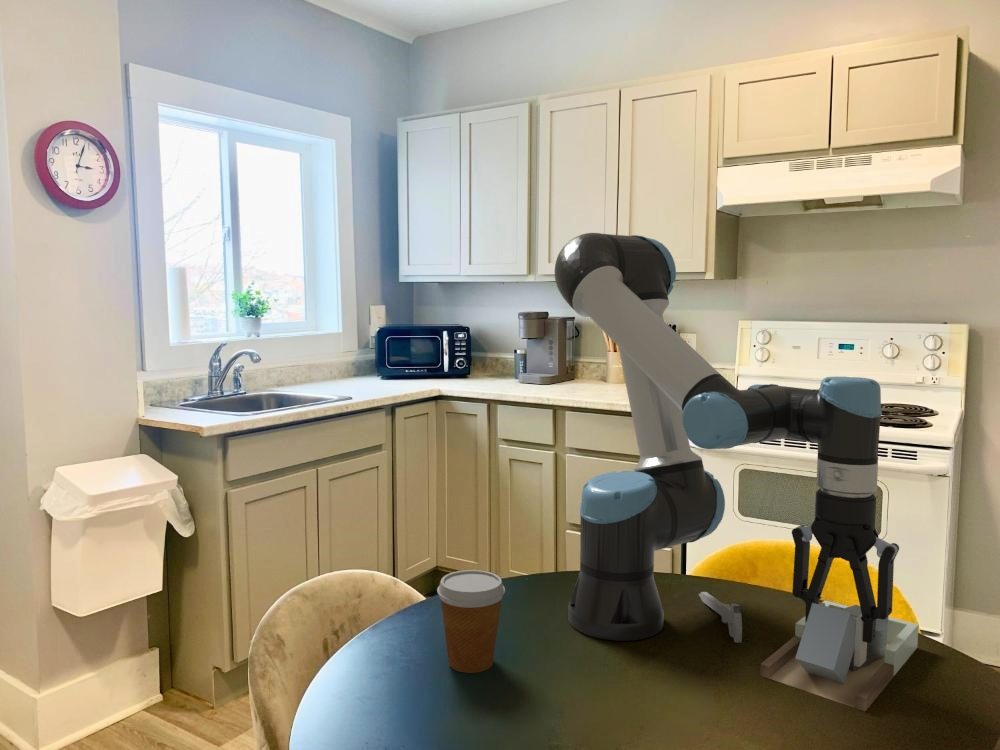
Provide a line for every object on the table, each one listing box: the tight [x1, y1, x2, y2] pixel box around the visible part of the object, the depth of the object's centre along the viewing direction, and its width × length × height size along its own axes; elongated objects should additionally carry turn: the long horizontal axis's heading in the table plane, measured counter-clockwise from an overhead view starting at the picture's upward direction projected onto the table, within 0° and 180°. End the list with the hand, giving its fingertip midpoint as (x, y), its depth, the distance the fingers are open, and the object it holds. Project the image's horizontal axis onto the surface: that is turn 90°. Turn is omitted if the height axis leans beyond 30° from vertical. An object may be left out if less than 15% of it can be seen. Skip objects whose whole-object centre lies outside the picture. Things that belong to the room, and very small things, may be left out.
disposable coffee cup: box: [436, 569, 506, 674], centre depth 107 cm, size 10×10×12 cm
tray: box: [794, 599, 919, 678], centre depth 112 cm, size 13×12×4 cm
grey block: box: [795, 603, 856, 684], centre depth 102 cm, size 5×5×8 cm
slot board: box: [759, 635, 918, 712], centre depth 108 cm, size 13×24×2 cm, turn 138°
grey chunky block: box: [841, 604, 889, 663], centre depth 110 cm, size 5×4×6 cm
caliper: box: [698, 591, 743, 644], centre depth 123 cm, size 20×1×6 cm, turn 0°
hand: (838, 656), depth 105 cm, fingers closed on grey block, 5 cm apart
